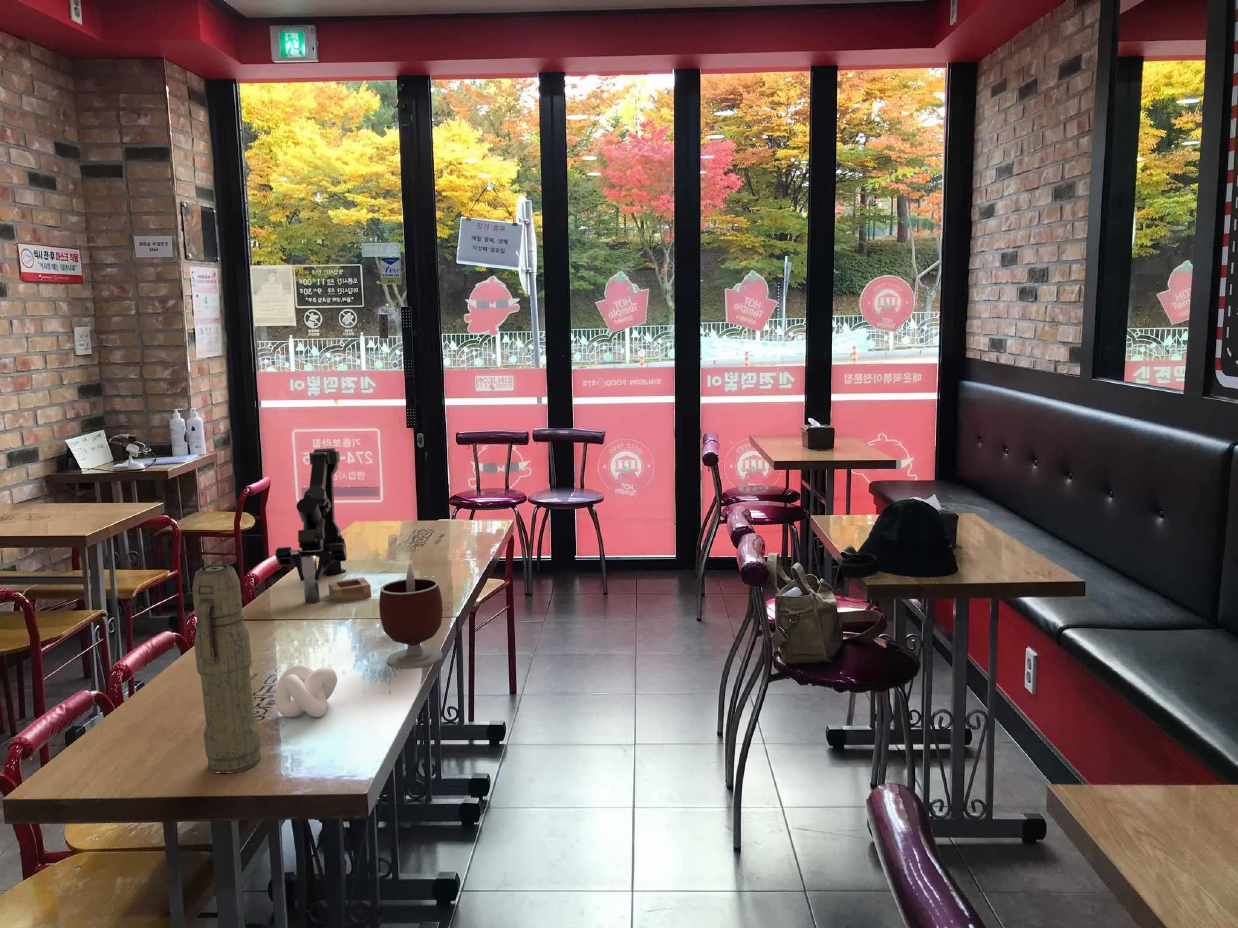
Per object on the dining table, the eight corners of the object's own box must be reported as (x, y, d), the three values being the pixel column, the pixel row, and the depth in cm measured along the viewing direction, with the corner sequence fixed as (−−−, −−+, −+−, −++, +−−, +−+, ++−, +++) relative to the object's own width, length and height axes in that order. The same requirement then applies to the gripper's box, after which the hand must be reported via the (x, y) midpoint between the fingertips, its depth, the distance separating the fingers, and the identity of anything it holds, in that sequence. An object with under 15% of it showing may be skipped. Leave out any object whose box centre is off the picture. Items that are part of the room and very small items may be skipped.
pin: (302, 601, 273) (298, 556, 271) (315, 598, 275) (311, 554, 274) (308, 604, 270) (304, 558, 268) (322, 601, 273) (318, 556, 271)
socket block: (329, 594, 280) (328, 582, 279) (364, 588, 284) (363, 577, 283) (335, 602, 271) (334, 590, 270) (371, 596, 275) (370, 584, 274)
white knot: (340, 720, 187) (336, 675, 186) (274, 730, 184) (269, 684, 182) (339, 699, 198) (335, 657, 196) (277, 708, 194) (273, 665, 193)
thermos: (196, 780, 164) (174, 578, 159) (220, 750, 175) (199, 561, 170) (250, 776, 164) (229, 575, 159) (270, 746, 176) (251, 558, 171)
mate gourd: (445, 665, 215) (439, 578, 212) (381, 672, 213) (374, 583, 210) (446, 644, 230) (440, 561, 227) (386, 649, 228) (379, 566, 225)
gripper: (273, 519, 272) (268, 567, 263) (341, 515, 274) (338, 562, 265) (282, 541, 281) (277, 588, 272) (348, 536, 283) (345, 583, 274)
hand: (309, 580), depth 270 cm, fingers closed on pin, 4 cm apart
